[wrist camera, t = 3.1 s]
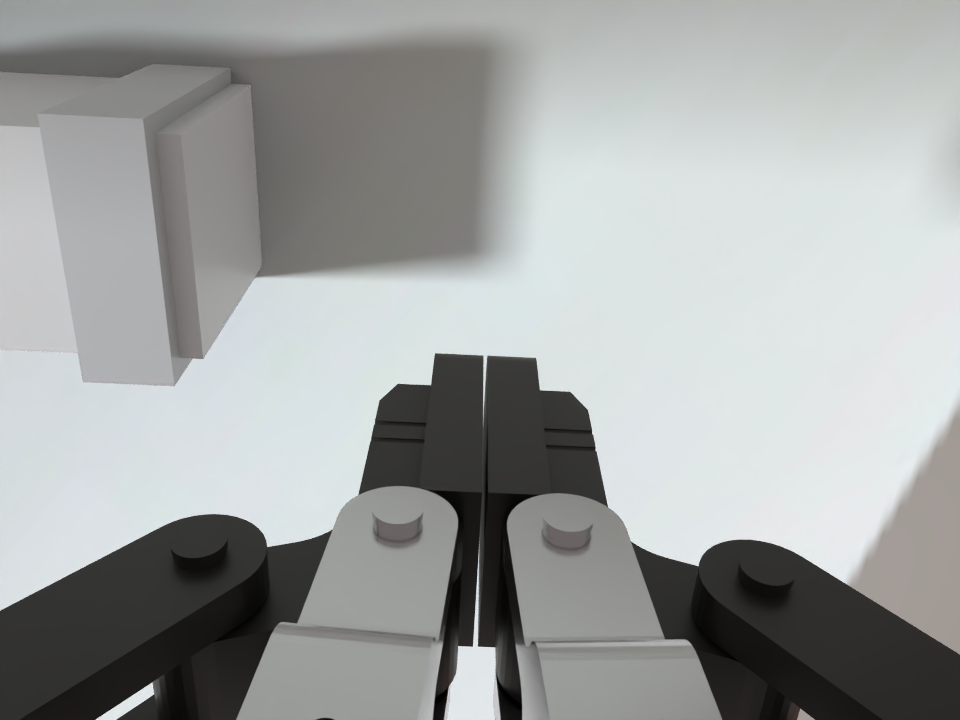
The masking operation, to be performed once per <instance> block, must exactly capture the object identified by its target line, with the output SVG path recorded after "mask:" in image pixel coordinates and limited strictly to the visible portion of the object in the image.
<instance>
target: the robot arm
mask: <svg viewBox="0 0 960 720" xmlns="http://www.w3.org/2000/svg"><path fill="white" fill-rule="evenodd" d="M595 448H596V447H595V442H594V437H593V435H592V428H591V423H590V418H589V413H588V410H587V409H586V408H585V407H584V406H583V405H582V404H581V403H580V402H579V401H578V400H577V399H576V397H575V396H574V395H573V394H572V393H571V392H560V391H540V388H539V379H538V370H537V362H536V358H524V357H503V356H487V368H486V384H485V401H484V417H483V356H479V355H458V354H437V353H435V358H434V366H433V375H432V383H431V386H430V385H409V384H397V385H396V386H395V387H394V388H393V389H392V390H391V391H390V392H389V393H387V394H386V395H385V396H384V397H383V398H382V399H381V400H380V401H379V406H378V410H377V415H376V419H375V425H374V428H373V433H372V438H371V442H370V446H369V450H368V455H367V459H366V464H365V468H364V473H363V477H362V482H361V486H360V491H359V495H358V496H356V497H354V498H353V499H351V500H350V501H349V502H348V503H346V504H345V506H344V507H343V508H342V509H341V511H340V513H339V515H338V517H337V520H336V522H335V525H334V528H333V530H331V531H329V532H327V533H325V534H323V535H321V536H318V537H315V538H312V539H309V540H305V541H300V542H295V543H290V544H284V545H278V546H272V547H267V543H266V539H265V537H264V535H263V533H262V532H261V531H260V530H259V529H258V528H257V527H256V526H255V525H253V524H252V523H250V522H248V521H246V520H244V519H241V518H238V517H234V516H228V515H218V514H209V515H198V516H192V517H188V518H183V519H180V520H177V521H174V522H171V523H169V524H167V525H165V526H163V527H161V528H159V529H157V530H155V531H153V532H151V533H149V534H147V535H145V536H143V537H141V538H139V539H138V540H136V541H134V542H132V543H130V544H128V545H126V546H124V547H122V548H120V549H118V550H116V551H114V552H112V553H111V554H109V555H107V556H105V557H103V558H101V559H99V560H97V561H95V562H93V563H91V564H89V565H87V566H86V567H84V568H82V569H80V570H78V571H76V572H74V573H72V574H70V575H68V576H66V577H64V578H62V579H61V580H59V581H57V582H55V583H53V584H51V585H49V586H47V587H45V588H43V589H41V590H39V591H37V592H35V593H34V594H32V595H30V596H28V597H26V598H24V599H22V600H20V601H18V602H16V603H14V604H12V605H10V606H9V607H7V608H5V609H3V610H1V611H0V720H95V719H97V718H98V717H100V716H101V715H103V714H105V713H106V712H108V711H109V710H111V709H112V708H114V707H115V706H117V705H118V704H120V703H121V702H123V701H124V700H126V699H127V698H129V697H130V696H132V695H133V694H135V693H136V692H138V691H140V690H141V689H143V688H144V687H146V686H147V685H149V684H150V683H152V682H153V689H154V695H153V696H151V697H150V698H148V699H147V700H145V701H144V702H142V703H141V704H139V705H138V706H136V707H135V708H133V709H132V710H130V711H129V712H127V713H126V714H124V715H123V716H121V717H120V718H118V719H117V720H447V716H448V709H449V702H450V684H451V682H452V681H453V679H454V676H455V674H456V669H457V655H458V646H472V647H473V634H474V618H475V602H476V585H477V569H478V553H479V615H478V646H479V647H496V670H495V682H494V695H493V704H494V714H495V720H797V718H798V714H799V711H800V708H801V709H802V710H803V711H805V712H806V713H807V714H809V715H810V716H811V717H813V718H814V719H815V720H960V655H959V654H958V653H956V652H955V651H953V650H951V649H950V648H948V647H947V646H945V645H943V644H942V643H940V642H938V641H937V640H935V639H934V638H932V637H930V636H929V635H927V634H926V633H924V632H922V631H921V630H919V629H918V628H916V627H914V626H913V625H911V624H909V623H908V622H906V621H905V620H903V619H901V618H900V617H898V616H897V615H895V614H893V613H892V612H890V611H888V610H887V609H885V608H884V607H882V606H880V605H879V604H877V603H876V602H874V601H872V600H871V599H869V598H868V597H866V596H864V595H863V594H861V593H859V592H858V591H856V590H855V589H853V588H851V587H850V586H848V585H847V584H845V583H843V582H842V581H840V580H838V579H837V578H835V577H834V576H832V575H830V574H829V573H827V572H826V571H824V570H822V569H821V568H819V567H818V566H816V565H814V564H813V563H811V562H809V561H808V560H806V559H805V558H803V557H801V556H800V555H798V554H796V553H794V552H792V551H790V550H788V549H785V548H783V547H780V546H777V545H774V544H771V543H766V542H762V541H755V540H732V541H726V542H722V543H719V544H717V545H715V546H713V547H711V548H710V549H708V550H707V551H706V552H705V553H704V555H703V556H702V558H701V560H700V562H699V566H695V565H691V564H687V563H683V562H680V561H676V560H672V559H668V558H665V557H662V556H659V555H656V554H653V553H651V552H649V551H646V550H644V549H643V548H641V547H639V546H637V545H635V544H634V543H632V542H631V541H630V538H629V535H628V532H627V529H626V527H625V525H624V523H623V521H622V520H621V519H620V517H619V516H618V515H617V514H616V513H615V512H614V511H612V510H611V509H610V508H608V505H607V500H606V496H605V491H604V486H603V481H602V476H601V471H600V466H599V462H598V457H597V452H596V451H595Z"/></svg>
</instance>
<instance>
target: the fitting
mask: <svg viewBox="0 0 960 720" xmlns="http://www.w3.org/2000/svg"><path fill="white" fill-rule="evenodd" d="M261 267H262V252H261V236H260V220H259V205H258V189H257V173H256V157H255V141H254V125H253V109H252V94H251V85H247V84H232V82H231V68H227V67H208V66H188V65H169V64H150V65H148V66H146V67H143V68H141V69H139V70H137V71H134V72H132V73H130V74H127V75H125V76H123V77H120V78H112V77H93V76H74V75H54V74H35V73H16V72H0V350H20V351H42V352H64V353H78V356H79V362H80V367H81V373H82V379H83V382H94V383H116V384H138V385H161V386H175V384H176V383H177V381H178V380H179V378H180V377H181V375H182V374H183V372H184V371H185V369H186V368H187V366H188V365H189V363H190V362H191V360H192V359H193V358H196V359H203V358H204V357H205V355H206V354H207V352H208V351H209V349H210V347H211V346H212V344H213V343H214V341H215V340H216V338H217V336H218V335H219V333H220V332H221V330H222V328H223V327H224V325H225V324H226V322H227V321H228V319H229V317H230V316H231V314H232V313H233V311H234V310H235V308H236V306H237V305H238V303H239V302H240V300H241V299H242V297H243V295H244V294H245V292H246V291H247V289H248V287H249V286H250V284H251V283H252V281H253V280H254V278H255V276H256V275H257V273H258V272H259V270H260V269H261Z"/></svg>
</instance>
